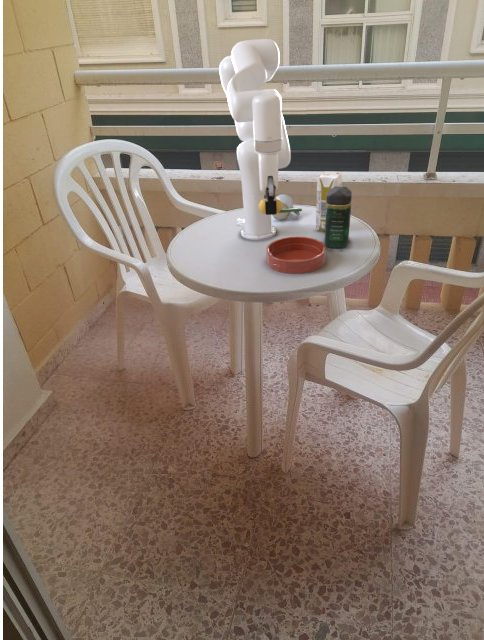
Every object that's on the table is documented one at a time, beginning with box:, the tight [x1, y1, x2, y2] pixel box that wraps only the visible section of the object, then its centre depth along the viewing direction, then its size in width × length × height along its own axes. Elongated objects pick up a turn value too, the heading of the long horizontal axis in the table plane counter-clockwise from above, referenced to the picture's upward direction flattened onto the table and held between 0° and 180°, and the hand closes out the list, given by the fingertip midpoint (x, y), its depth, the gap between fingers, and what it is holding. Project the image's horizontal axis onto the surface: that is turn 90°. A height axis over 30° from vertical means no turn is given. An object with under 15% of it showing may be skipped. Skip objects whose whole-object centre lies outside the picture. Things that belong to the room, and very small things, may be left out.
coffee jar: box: [323, 186, 353, 250], centre depth 147 cm, size 10×8×19 cm
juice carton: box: [315, 171, 343, 232], centre depth 158 cm, size 8×9×19 cm
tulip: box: [259, 198, 303, 214], centre depth 132 cm, size 13×5×4 cm, turn 92°
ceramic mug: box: [272, 193, 301, 221], centre depth 172 cm, size 11×8×8 cm
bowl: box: [265, 235, 327, 275], centre depth 142 cm, size 18×18×4 cm
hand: (270, 210), depth 133 cm, fingers closed on tulip, 4 cm apart
